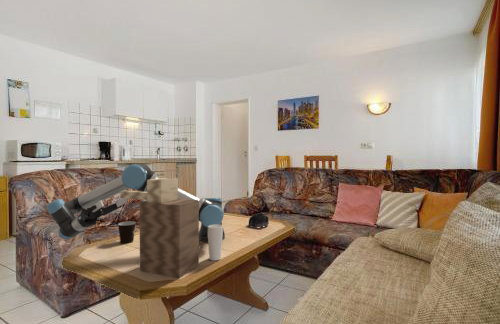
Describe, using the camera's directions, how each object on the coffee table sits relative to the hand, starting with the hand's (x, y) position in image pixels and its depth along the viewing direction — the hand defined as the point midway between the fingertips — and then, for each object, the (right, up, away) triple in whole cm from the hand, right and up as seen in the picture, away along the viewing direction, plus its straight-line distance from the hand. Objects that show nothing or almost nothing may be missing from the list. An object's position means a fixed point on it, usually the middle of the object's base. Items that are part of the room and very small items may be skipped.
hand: (114, 200), depth 125 cm
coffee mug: (-5, -26, +26) cm, 37 cm away
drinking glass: (+45, -27, +1) cm, 53 cm away
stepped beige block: (+16, +1, -6) cm, 17 cm away
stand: (+28, -27, -10) cm, 40 cm away
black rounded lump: (+67, -26, +61) cm, 94 cm away
